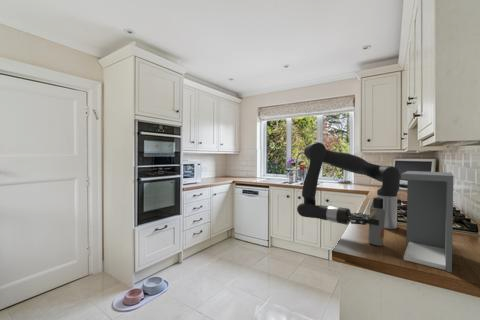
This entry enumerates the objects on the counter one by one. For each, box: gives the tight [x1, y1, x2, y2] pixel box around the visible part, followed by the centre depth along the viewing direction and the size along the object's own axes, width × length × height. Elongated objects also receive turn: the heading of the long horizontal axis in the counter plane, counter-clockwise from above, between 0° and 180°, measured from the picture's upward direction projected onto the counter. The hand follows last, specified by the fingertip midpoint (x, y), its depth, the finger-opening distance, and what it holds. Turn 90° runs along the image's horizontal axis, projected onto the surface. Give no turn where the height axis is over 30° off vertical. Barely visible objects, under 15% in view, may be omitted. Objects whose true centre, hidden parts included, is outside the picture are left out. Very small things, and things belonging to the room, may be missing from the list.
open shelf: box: [400, 170, 455, 273], centre depth 88 cm, size 22×14×32 cm, turn 138°
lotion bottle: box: [367, 196, 385, 246], centre depth 99 cm, size 6×6×20 cm
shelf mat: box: [403, 242, 446, 271], centre depth 87 cm, size 19×12×2 cm, turn 138°
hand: (379, 221), depth 98 cm, fingers closed on lotion bottle, 3 cm apart
